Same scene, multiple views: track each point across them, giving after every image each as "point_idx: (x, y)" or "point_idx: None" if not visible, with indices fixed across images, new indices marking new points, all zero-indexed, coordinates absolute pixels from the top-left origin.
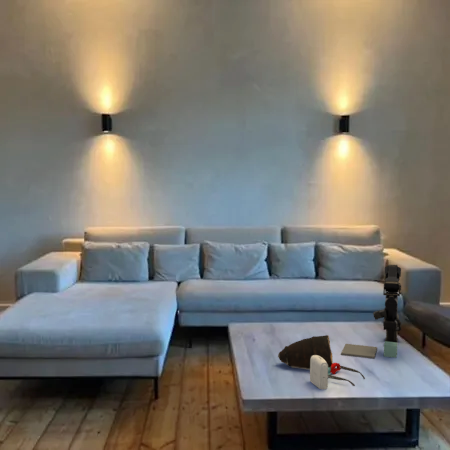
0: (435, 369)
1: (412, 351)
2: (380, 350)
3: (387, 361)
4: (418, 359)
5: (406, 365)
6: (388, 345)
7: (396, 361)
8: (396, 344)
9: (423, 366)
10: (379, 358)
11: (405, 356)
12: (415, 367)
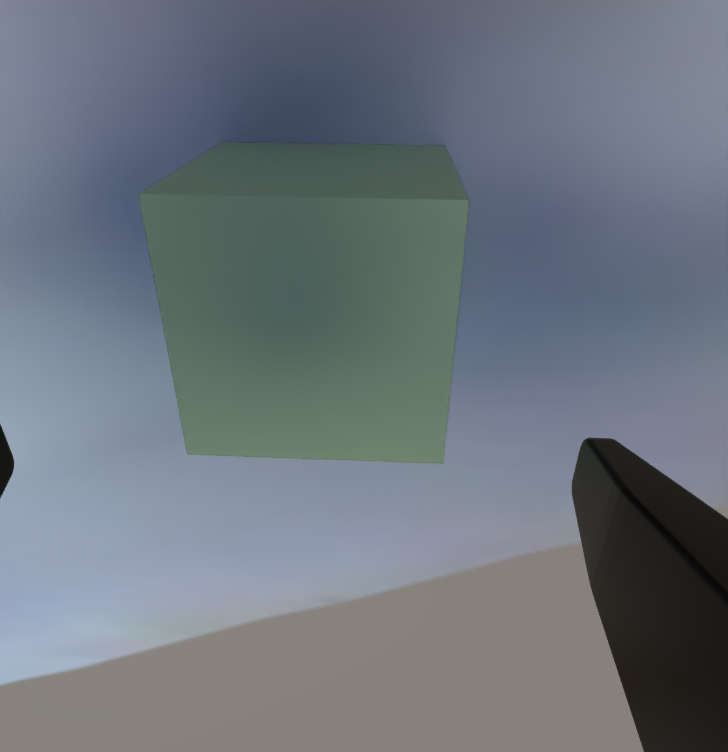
0: (68, 656)
1: None
2: (576, 50)
3: (4, 219)
4: (299, 558)
5: None
6: (162, 300)
7: (86, 342)
8: (297, 449)
9: (89, 586)
10: (74, 69)
11: None
12: (5, 526)
